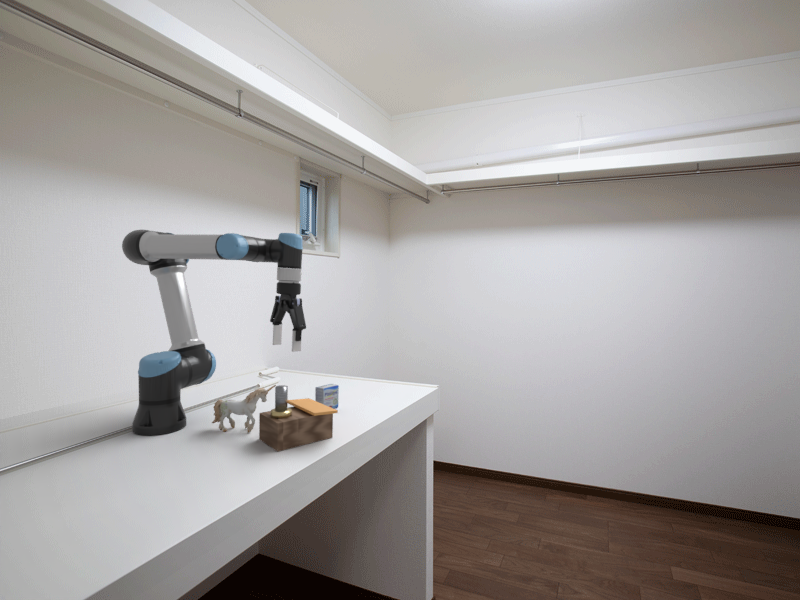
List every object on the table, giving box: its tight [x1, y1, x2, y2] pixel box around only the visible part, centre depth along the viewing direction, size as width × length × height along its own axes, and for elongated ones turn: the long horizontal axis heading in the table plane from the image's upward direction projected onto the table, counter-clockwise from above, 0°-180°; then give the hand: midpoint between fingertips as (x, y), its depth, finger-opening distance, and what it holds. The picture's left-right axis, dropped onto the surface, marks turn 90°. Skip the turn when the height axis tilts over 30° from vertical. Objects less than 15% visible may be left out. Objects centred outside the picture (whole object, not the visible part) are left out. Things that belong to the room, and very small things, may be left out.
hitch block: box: [258, 406, 334, 453], centre depth 133 cm, size 18×12×8 cm, turn 132°
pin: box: [270, 384, 292, 419], centre depth 130 cm, size 6×6×16 cm
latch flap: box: [287, 398, 339, 416], centre depth 136 cm, size 8×17×1 cm, turn 42°
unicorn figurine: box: [211, 384, 277, 434], centre depth 140 cm, size 7×20×13 cm, turn 104°
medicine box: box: [314, 383, 340, 409], centre depth 165 cm, size 8×4×9 cm, turn 143°
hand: (286, 347), depth 142 cm, fingers open, 13 cm apart
